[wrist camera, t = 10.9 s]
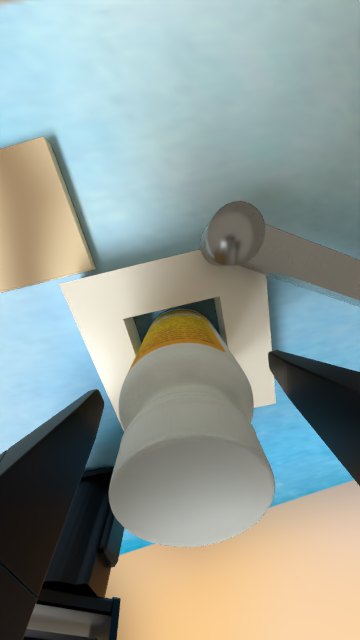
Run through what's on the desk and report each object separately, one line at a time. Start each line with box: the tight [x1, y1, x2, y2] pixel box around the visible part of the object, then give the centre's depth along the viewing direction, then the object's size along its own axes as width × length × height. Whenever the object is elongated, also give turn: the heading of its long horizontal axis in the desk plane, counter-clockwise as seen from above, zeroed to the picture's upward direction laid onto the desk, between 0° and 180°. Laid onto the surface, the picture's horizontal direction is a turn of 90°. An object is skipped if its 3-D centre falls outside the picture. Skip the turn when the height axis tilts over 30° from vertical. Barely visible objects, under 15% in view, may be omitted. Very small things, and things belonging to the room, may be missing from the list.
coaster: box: [0, 137, 96, 293], centre depth 10 cm, size 7×7×1 cm
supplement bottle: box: [109, 309, 275, 547], centre depth 8 cm, size 5×5×10 cm
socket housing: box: [59, 249, 276, 432], centre depth 12 cm, size 12×12×2 cm
